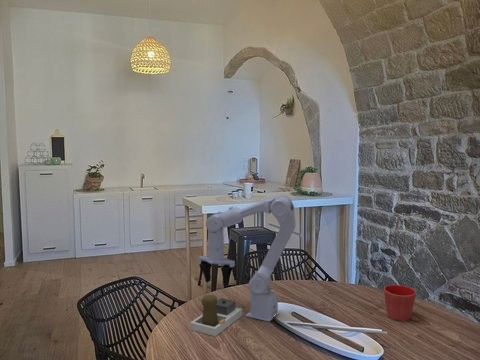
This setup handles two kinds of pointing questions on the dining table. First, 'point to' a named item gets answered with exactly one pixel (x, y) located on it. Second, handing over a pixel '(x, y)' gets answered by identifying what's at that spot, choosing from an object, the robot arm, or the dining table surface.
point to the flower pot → (399, 301)
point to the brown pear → (209, 310)
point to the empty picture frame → (225, 318)
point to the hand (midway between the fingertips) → (216, 283)
